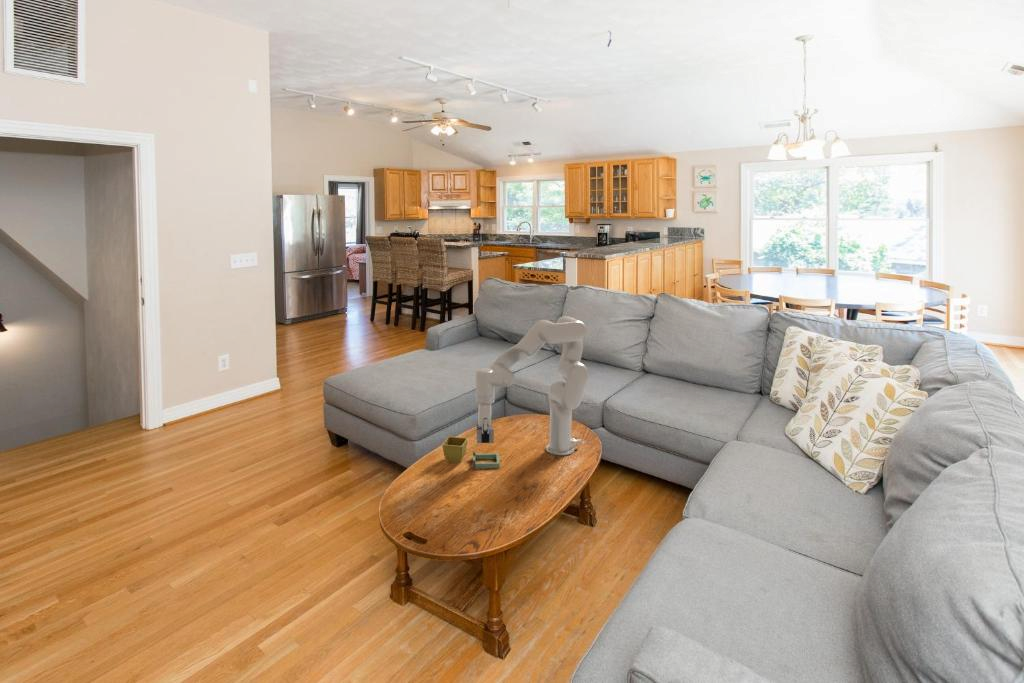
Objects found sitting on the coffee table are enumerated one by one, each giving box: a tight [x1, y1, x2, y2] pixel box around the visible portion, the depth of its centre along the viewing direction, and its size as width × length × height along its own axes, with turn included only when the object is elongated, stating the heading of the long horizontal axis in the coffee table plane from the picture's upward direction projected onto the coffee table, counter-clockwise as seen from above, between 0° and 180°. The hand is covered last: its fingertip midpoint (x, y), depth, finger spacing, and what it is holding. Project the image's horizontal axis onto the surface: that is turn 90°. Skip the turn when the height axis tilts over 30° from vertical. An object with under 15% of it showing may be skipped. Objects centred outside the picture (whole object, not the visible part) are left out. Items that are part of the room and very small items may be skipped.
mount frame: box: [472, 451, 501, 470], centre depth 241 cm, size 11×10×3 cm
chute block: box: [476, 423, 495, 444], centre depth 238 cm, size 7×5×7 cm
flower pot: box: [442, 436, 468, 464], centre depth 242 cm, size 9×9×9 cm
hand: (485, 439), depth 238 cm, fingers closed on chute block, 5 cm apart
